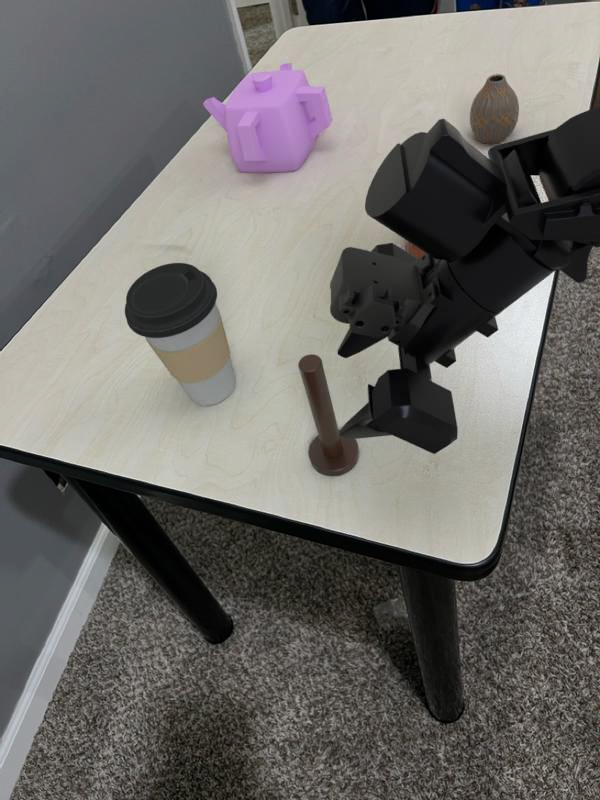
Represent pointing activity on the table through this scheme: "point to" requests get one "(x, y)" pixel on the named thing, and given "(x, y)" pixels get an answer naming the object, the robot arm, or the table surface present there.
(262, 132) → the teakettle
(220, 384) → the coffee cup
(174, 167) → the table surface
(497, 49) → the table surface
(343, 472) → the dark brown rod
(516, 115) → the vase
